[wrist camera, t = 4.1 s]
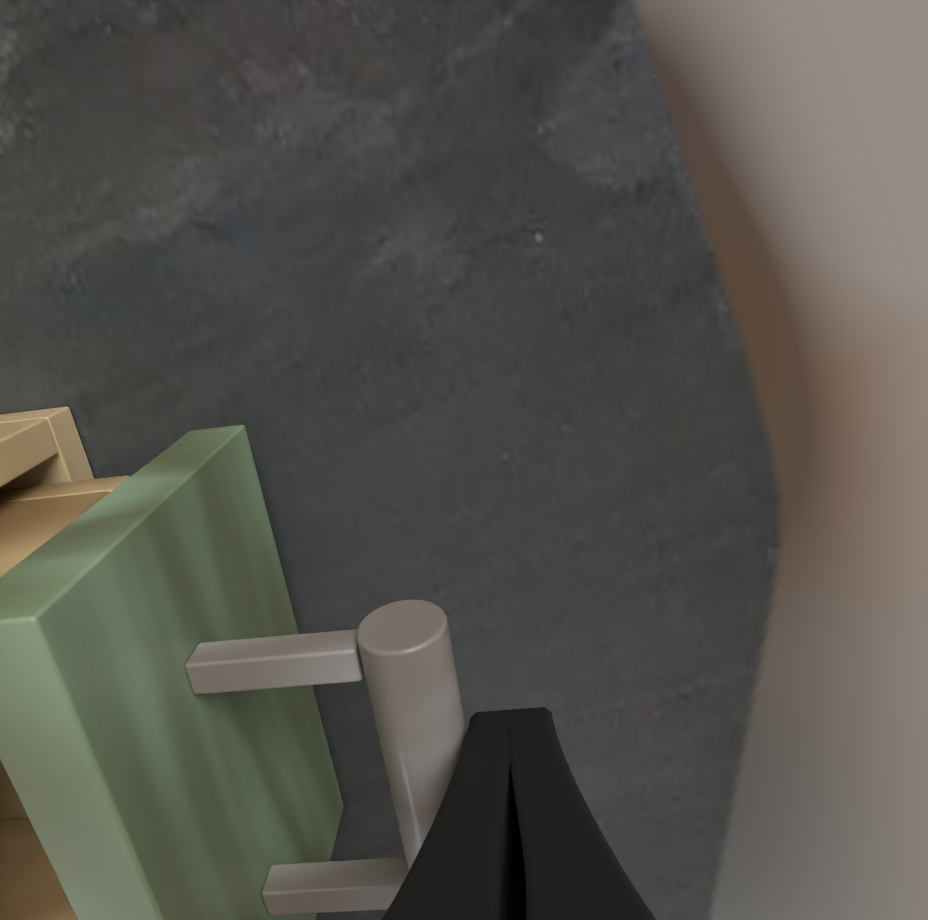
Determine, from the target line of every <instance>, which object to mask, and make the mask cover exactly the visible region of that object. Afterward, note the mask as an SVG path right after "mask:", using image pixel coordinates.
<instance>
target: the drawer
mask: <svg viewBox="0 0 928 920" xmlns="http://www.w3.org/2000/svg"><path fill="white" fill-rule="evenodd" d="M363 673H364V675H365V679H366V684H367V688H368V693H369V697H370V701H371V706H372V710H373V715H374V719H375V724H376V728H377V733H378V737H379V741H380V746H381V750H382V755H383V759H384V764H385V768H386V772H387V777H388V781H389V786H390V790H391V795H392V799H393V804H394V808H395V812H396V817H397V821H398V826H399V830H400V835H401V839H402V843H403V848H404V852H405V857H394V858H377V859H360V860H343V861H330V859H331V855H332V851H333V847H334V843H335V839H336V835H337V831H338V827H339V823H340V819H341V815H342V810H343V806H344V805H343V801H342V797H341V793H340V790H339V786H338V782H337V778H336V774H335V770H334V767H333V763H332V759H331V755H330V751H329V747H328V744H327V740H326V736H325V732H324V728H323V724H322V721H321V717H320V713H319V709H318V705H317V701H316V698H315V694H314V690H313V686H312V685H324V684H336V683H348V682H359V681H361V680H362V676H363ZM465 737H466V728H465V722H464V716H463V710H462V704H461V698H460V692H459V686H458V680H457V674H456V668H455V661H454V655H453V649H452V643H451V637H450V631H449V625H448V619H447V616H446V614H445V612H444V611H443V610H442V609H441V608H440V607H439V606H438V605H436V604H434V603H432V602H429V601H425V600H414V599H411V600H401V601H396V602H392V603H389V604H386V605H384V606H381V607H379V608H377V609H375V610H374V611H372V612H371V613H370V614H368V615H367V616H366V617H365V618H364V619H363V620H362V621H361V623H360V624H359V627H358V629H351V630H339V631H328V632H317V633H305V634H299V632H298V629H297V625H296V621H295V617H294V613H293V609H292V605H291V602H290V598H289V594H288V590H287V586H286V582H285V579H284V575H283V571H282V567H281V563H280V559H279V556H278V552H277V548H276V544H275V540H274V536H273V533H272V529H271V525H270V521H269V517H268V513H267V510H266V506H265V502H264V498H263V494H262V490H261V487H260V483H259V479H258V475H257V471H256V467H255V464H254V460H253V456H252V452H251V448H250V444H249V441H248V437H247V433H246V429H245V426H244V425H236V426H227V427H218V428H210V429H201V430H193V431H189V432H188V433H186V434H185V435H184V436H183V437H181V438H180V439H179V440H177V441H176V442H175V443H174V444H172V445H171V446H170V447H168V448H167V449H166V450H164V451H163V452H162V453H161V454H159V455H158V456H157V457H155V458H154V459H153V460H152V461H150V462H149V463H148V464H146V465H145V466H144V467H143V468H141V469H140V470H139V471H137V472H136V473H135V474H133V475H132V476H129V475H127V476H118V477H109V478H100V479H91V480H82V481H73V482H64V483H55V484H46V485H37V486H28V487H19V488H10V489H1V490H0V920H316V916H317V913H326V912H345V911H365V910H384V909H388V908H389V907H390V905H391V903H392V901H393V900H394V898H395V896H396V894H397V893H398V891H399V889H400V887H401V885H402V883H403V882H404V880H405V878H406V876H407V874H408V872H409V870H410V868H411V866H412V864H413V862H414V860H415V858H416V856H417V854H418V852H419V850H420V848H421V846H422V844H423V842H424V840H425V838H426V836H427V834H428V832H429V830H430V828H431V826H432V823H433V821H434V819H435V817H436V814H437V812H438V810H439V807H440V805H441V802H442V800H443V798H444V795H445V793H446V790H447V788H448V786H449V783H450V781H451V778H452V776H453V773H454V770H455V767H456V765H457V762H458V759H459V756H460V753H461V750H462V747H463V744H464V741H465Z"/></svg>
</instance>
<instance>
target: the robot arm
mask: <svg viewBox="0 0 928 920" xmlns="http://www.w3.org/2000/svg"><path fill="white" fill-rule="evenodd" d="M382 920H656V919H655V918H654V916H653V915H652V913H651V912H650V910H649V909H648V907H647V906H646V904H645V903H644V901H643V900H642V898H641V897H640V895H639V894H638V892H637V891H636V889H635V888H634V886H633V884H632V883H631V881H630V880H629V878H628V876H627V875H626V873H625V872H624V870H623V868H622V867H621V865H620V863H619V862H618V860H617V858H616V857H615V855H614V853H613V851H612V850H611V848H610V846H609V845H608V843H607V841H606V839H605V838H604V836H603V834H602V832H601V831H600V829H599V827H598V825H597V823H596V821H595V820H594V818H593V816H592V814H591V812H590V810H589V808H588V806H587V804H586V802H585V800H584V798H583V796H582V794H581V792H580V790H579V788H578V786H577V784H576V781H575V779H574V777H573V775H572V773H571V770H570V768H569V766H568V763H567V761H566V758H565V756H564V754H563V751H562V748H561V746H560V743H559V740H558V737H557V734H556V730H555V727H554V723H553V719H552V713H551V712H550V711H549V710H547V709H546V708H545V707H540V708H527V709H514V710H501V711H488V712H476V713H475V714H474V715H473V716H472V717H471V718H470V722H469V726H468V730H467V734H466V737H465V741H464V744H463V747H462V750H461V753H460V756H459V759H458V762H457V765H456V767H455V770H454V773H453V776H452V778H451V781H450V783H449V786H448V788H447V790H446V793H445V795H444V798H443V800H442V802H441V805H440V807H439V810H438V812H437V814H436V817H435V819H434V821H433V823H432V826H431V828H430V830H429V832H428V834H427V836H426V838H425V840H424V842H423V844H422V846H421V848H420V850H419V852H418V854H417V856H416V858H415V860H414V862H413V864H412V866H411V868H410V870H409V872H408V874H407V876H406V878H405V880H404V882H403V883H402V885H401V887H400V889H399V891H398V893H397V894H396V896H395V898H394V900H393V901H392V903H391V905H390V907H389V908H388V910H387V912H386V913H385V915H384V917H383V918H382Z"/></svg>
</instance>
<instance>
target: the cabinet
mask: <svg viewBox="0 0 928 920" xmlns="http://www.w3.org/2000/svg"><path fill="white" fill-rule="evenodd" d="M91 479H94V476H93V473H92V470H91V467H90V465H89V462H88V459H87V456H86V453H85V451H84V448H83V445H82V442H81V439H80V436H79V434H78V431H77V428H76V425H75V422H74V420H73V417H72V414H71V411H70V408H69V407H60V408H51V409H43V410H35V411H27V412H19V413H10V414H2V415H0V490H1V489H10V488H19V487H28V486H37V485H46V484H55V483H64V482H73V481H82V480H91Z"/></svg>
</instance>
